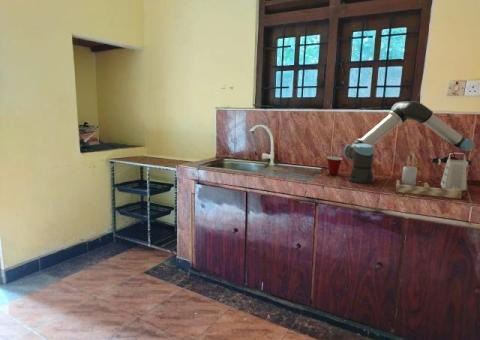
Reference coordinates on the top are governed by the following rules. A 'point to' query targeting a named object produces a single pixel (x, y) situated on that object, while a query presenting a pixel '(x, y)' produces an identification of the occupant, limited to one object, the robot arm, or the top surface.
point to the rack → (429, 190)
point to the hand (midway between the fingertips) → (453, 163)
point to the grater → (454, 173)
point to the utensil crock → (409, 173)
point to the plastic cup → (334, 164)
